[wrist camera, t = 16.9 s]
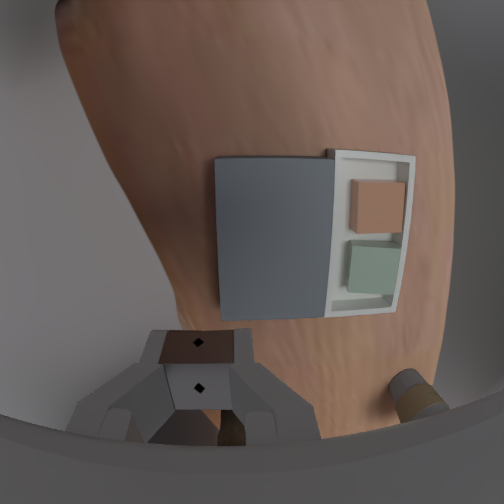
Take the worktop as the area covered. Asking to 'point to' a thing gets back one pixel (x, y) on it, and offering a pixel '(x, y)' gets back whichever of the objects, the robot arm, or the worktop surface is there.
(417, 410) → the coffee cup
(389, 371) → the worktop surface
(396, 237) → the box
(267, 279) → the dark grey slab
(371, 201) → the tile
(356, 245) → the tile
